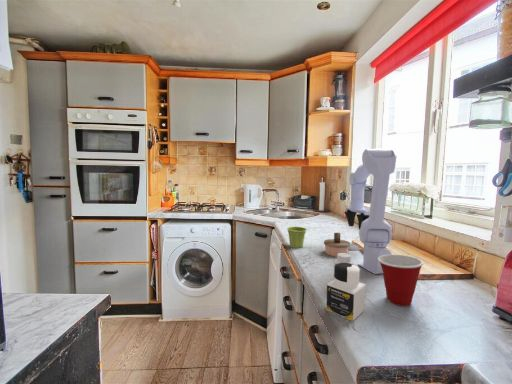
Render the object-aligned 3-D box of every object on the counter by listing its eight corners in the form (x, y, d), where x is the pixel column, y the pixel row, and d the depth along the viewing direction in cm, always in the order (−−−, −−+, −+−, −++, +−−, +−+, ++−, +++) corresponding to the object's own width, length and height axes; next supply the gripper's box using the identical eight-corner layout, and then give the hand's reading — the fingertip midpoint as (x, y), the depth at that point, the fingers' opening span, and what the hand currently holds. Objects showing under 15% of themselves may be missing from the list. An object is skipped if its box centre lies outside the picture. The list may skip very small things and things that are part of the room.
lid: (356, 246, 104) (356, 235, 103) (333, 249, 101) (333, 237, 101) (340, 240, 114) (340, 229, 114) (319, 241, 111) (319, 231, 111)
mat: (366, 250, 113) (366, 249, 113) (343, 252, 110) (343, 251, 110) (350, 243, 124) (350, 242, 124) (329, 245, 122) (329, 244, 121)
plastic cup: (381, 287, 77) (382, 249, 76) (423, 299, 70) (425, 257, 69) (371, 301, 68) (373, 259, 67) (418, 316, 61) (420, 269, 60)
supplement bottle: (348, 282, 80) (349, 251, 79) (355, 291, 75) (356, 257, 74) (331, 282, 80) (332, 251, 79) (336, 290, 75) (337, 257, 74)
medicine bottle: (325, 310, 64) (327, 265, 63) (339, 300, 69) (340, 258, 68) (352, 322, 59) (354, 273, 58) (364, 310, 64) (366, 265, 63)
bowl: (351, 256, 105) (352, 246, 104) (332, 258, 103) (333, 248, 102) (339, 250, 113) (340, 240, 113) (322, 251, 111) (322, 242, 111)
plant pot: (309, 246, 120) (310, 228, 119) (300, 250, 113) (300, 232, 112) (293, 242, 126) (293, 225, 125) (282, 246, 119) (283, 229, 118)
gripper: (375, 200, 108) (374, 231, 109) (354, 197, 122) (354, 224, 123) (361, 200, 106) (360, 231, 107) (342, 197, 120) (341, 225, 121)
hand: (356, 228), depth 115 cm, fingers open, 7 cm apart
